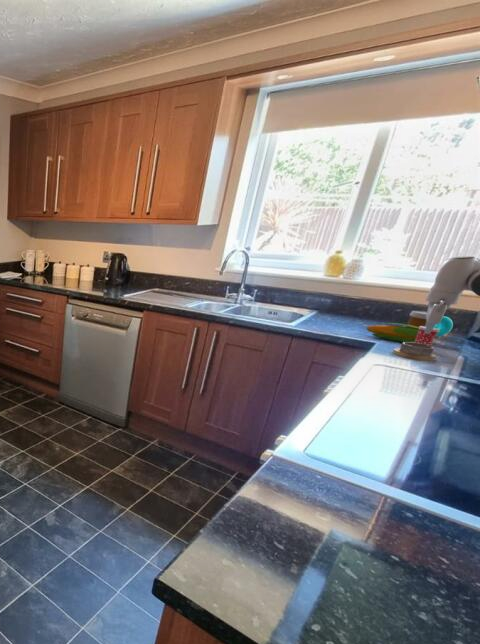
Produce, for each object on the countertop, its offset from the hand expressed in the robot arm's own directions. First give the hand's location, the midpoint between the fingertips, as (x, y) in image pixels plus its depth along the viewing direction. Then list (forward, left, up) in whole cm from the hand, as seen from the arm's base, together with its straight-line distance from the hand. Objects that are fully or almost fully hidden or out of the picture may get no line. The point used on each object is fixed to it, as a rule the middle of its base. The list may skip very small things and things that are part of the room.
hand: (426, 331), depth 175 cm
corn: (+9, -10, -8) cm, 15 cm away
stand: (+2, +18, -7) cm, 20 cm away
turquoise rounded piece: (-3, -39, -8) cm, 40 cm away
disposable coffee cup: (+2, -22, -8) cm, 23 cm away
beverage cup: (0, 0, -8) cm, 8 cm away
